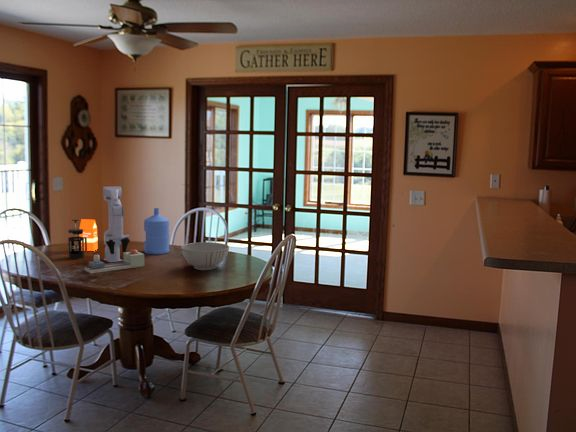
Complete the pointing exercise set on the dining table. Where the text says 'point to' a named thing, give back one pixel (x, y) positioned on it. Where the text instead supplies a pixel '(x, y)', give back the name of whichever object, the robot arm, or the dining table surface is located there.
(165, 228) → the water jug
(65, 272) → the dining table surface
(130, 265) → the track
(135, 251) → the plunger
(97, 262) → the carriage
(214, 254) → the decorative bowl
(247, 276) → the dining table surface
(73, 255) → the french press
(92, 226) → the orange juice
